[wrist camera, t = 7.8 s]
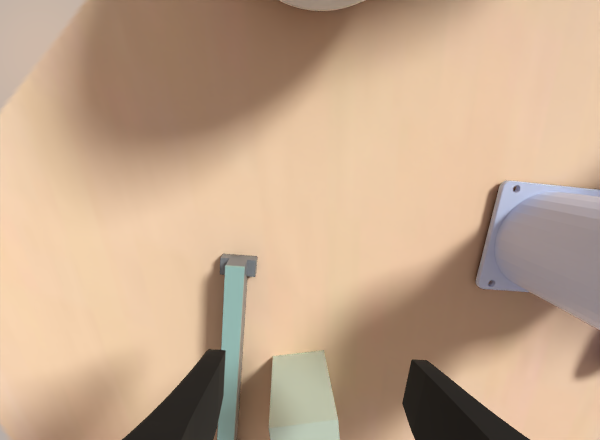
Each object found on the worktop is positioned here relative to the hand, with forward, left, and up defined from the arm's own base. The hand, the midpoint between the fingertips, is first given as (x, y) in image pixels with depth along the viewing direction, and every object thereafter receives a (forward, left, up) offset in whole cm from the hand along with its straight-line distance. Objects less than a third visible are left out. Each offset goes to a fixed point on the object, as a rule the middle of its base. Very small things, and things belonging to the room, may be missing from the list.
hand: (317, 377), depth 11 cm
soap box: (-1, +10, -10) cm, 14 cm away
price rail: (+4, +8, -10) cm, 14 cm away
